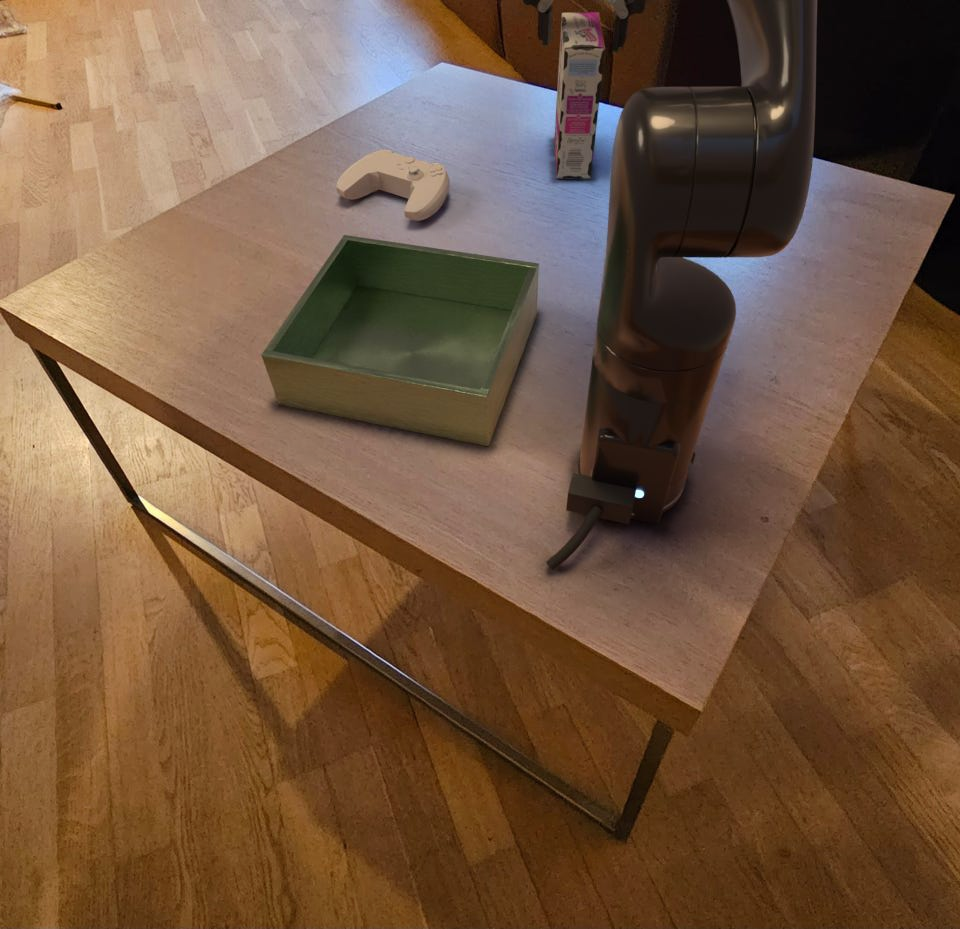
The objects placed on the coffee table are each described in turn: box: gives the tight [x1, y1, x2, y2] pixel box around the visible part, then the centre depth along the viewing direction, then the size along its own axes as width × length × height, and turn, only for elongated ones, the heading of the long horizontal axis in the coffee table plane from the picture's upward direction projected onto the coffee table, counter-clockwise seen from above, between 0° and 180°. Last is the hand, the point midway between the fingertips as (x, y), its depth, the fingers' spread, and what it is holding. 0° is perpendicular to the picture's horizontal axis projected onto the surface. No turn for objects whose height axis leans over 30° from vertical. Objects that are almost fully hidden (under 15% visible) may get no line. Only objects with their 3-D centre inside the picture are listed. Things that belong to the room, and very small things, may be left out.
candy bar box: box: [554, 11, 606, 180], centre depth 93 cm, size 11×5×16 cm, turn 178°
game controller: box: [335, 149, 450, 221], centre depth 92 cm, size 14×4×10 cm
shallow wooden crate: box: [260, 234, 540, 447], centre depth 72 cm, size 20×22×7 cm
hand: (581, 46), depth 88 cm, fingers open, 8 cm apart
